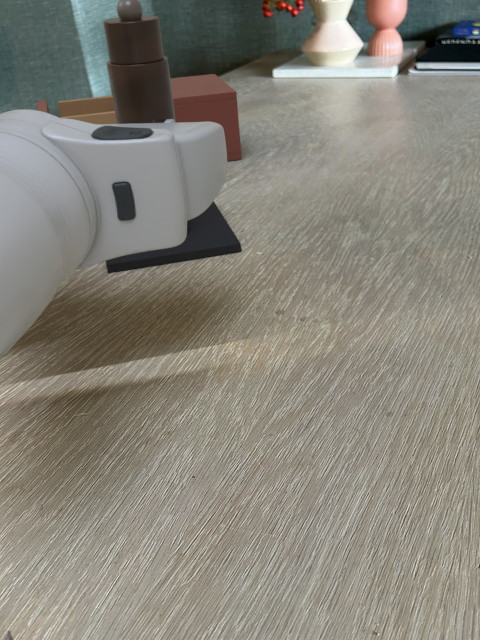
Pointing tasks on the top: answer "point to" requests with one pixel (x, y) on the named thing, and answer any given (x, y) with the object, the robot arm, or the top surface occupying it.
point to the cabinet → (208, 106)
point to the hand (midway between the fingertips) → (104, 131)
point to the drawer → (85, 109)
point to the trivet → (187, 244)
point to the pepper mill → (138, 67)
